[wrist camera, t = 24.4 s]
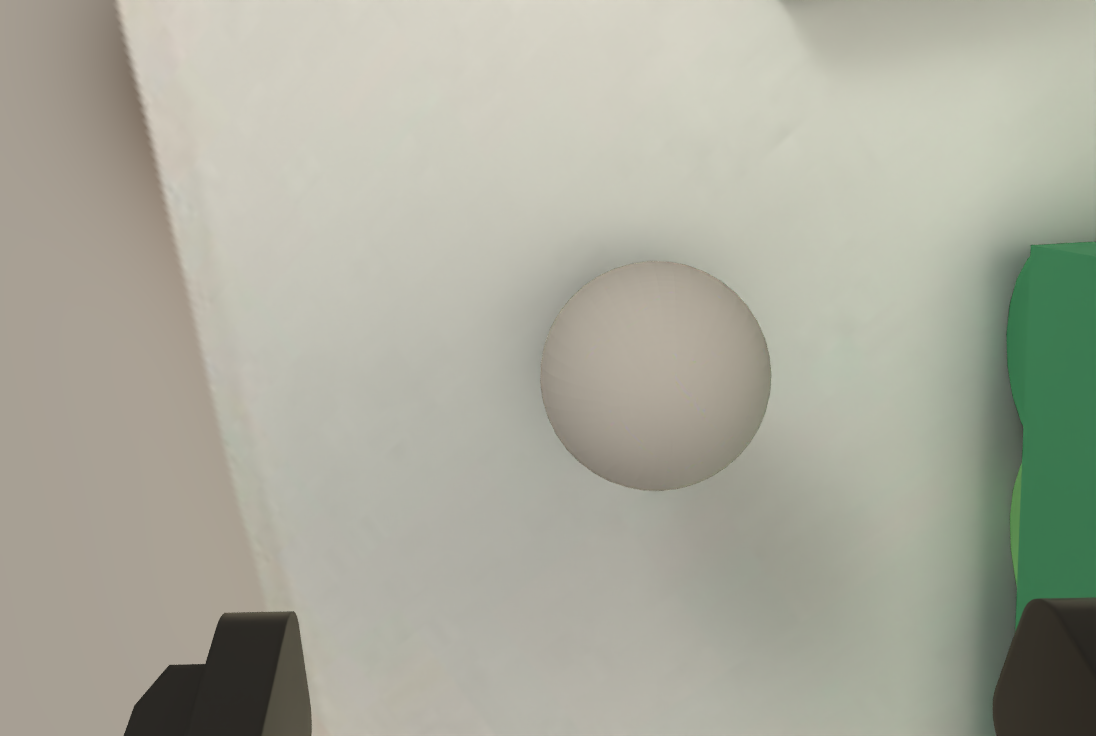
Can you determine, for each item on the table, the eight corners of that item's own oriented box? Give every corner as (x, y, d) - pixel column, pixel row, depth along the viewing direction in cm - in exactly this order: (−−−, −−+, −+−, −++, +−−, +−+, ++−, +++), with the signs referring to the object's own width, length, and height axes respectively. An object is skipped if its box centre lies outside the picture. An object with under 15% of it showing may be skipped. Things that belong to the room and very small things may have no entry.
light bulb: (605, 203, 33) (634, 223, 23) (757, 305, 34) (847, 365, 24) (505, 357, 34) (491, 438, 24) (654, 453, 35) (700, 569, 25)
